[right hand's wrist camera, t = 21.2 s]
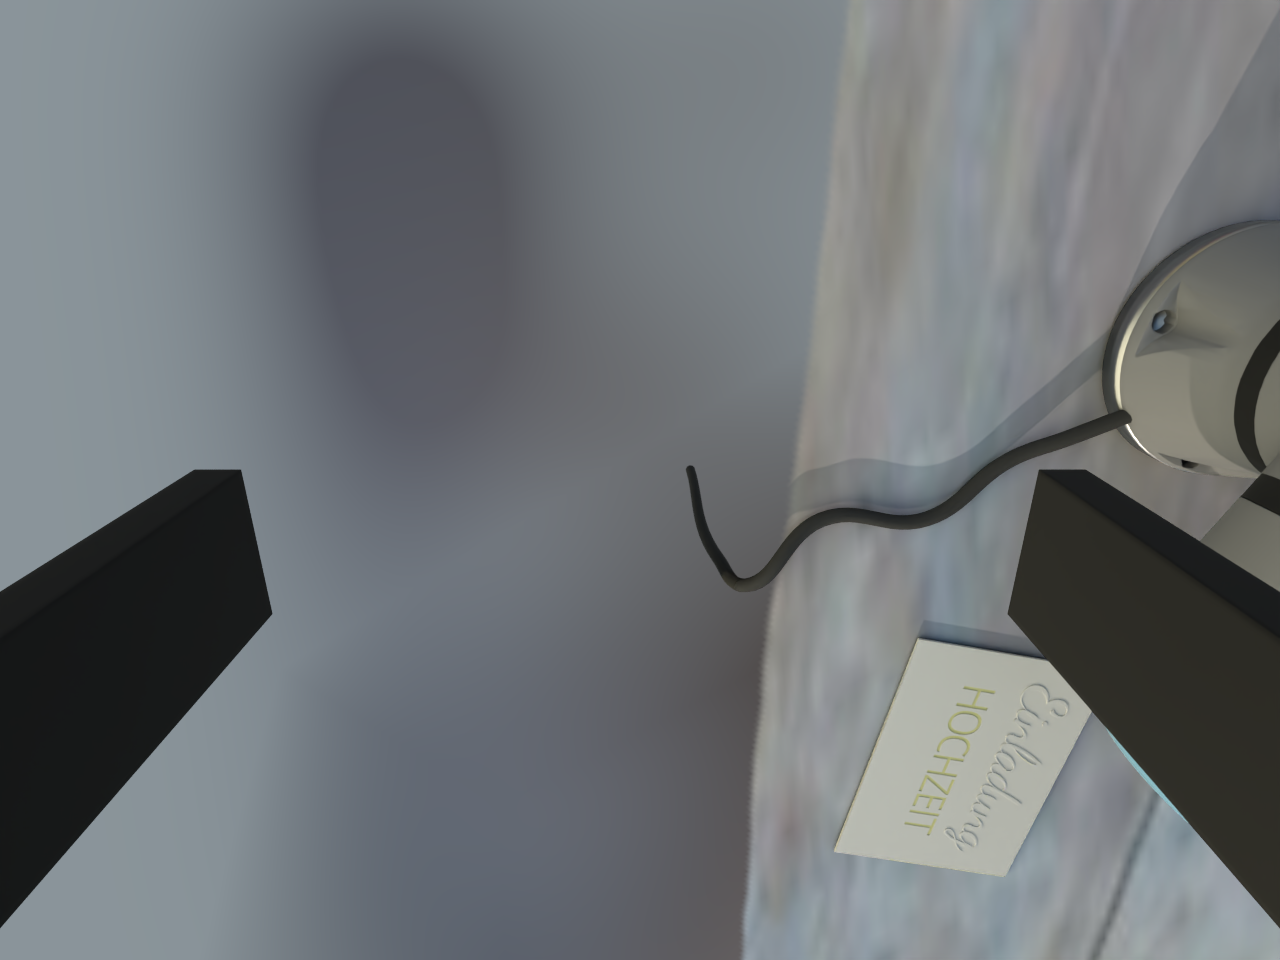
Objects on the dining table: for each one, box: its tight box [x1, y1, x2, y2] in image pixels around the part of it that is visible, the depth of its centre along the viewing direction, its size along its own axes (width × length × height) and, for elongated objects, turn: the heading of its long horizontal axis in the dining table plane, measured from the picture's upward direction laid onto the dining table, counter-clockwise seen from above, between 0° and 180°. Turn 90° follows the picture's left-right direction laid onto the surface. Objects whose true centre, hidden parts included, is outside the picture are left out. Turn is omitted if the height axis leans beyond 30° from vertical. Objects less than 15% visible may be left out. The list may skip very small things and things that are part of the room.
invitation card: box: [834, 638, 1092, 877], centre depth 57 cm, size 21×1×15 cm
